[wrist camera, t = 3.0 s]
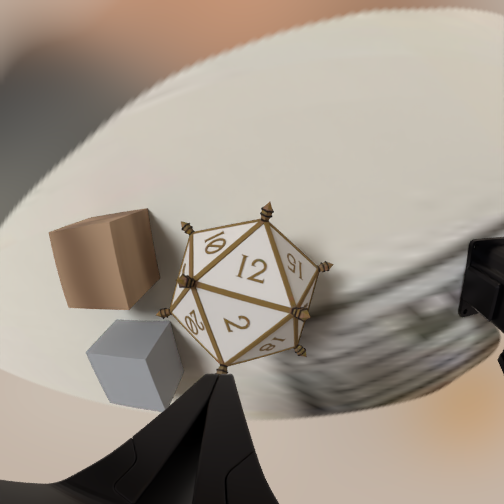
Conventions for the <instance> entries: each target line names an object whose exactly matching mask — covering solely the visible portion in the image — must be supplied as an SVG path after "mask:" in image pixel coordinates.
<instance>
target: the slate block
mask: <svg viewBox="0 0 504 504" xmlns="http://www.w3.org/2000/svg"><path fill="white" fill-rule="evenodd" d="M86 354H87V356H88V359H89V361H90V363H91V365H92V368H93V370H94V372H95V374H96V376H97V378H98V380H99V382H100V384H101V386H102V388H103V390H104V392H105V394H106V396H107V398H108V400H109V401H110V403H114V404H118V405H123V406H129V407H134V408H140V409H146V410H152V411H159V412H163V411H164V410H165V409H166V408H168V407H169V405H170V403H171V401H172V398H173V396H174V393H175V391H176V389H177V386H178V384H179V382H180V380H181V377H182V375H183V373H184V370H183V366H182V363H181V360H180V356H179V353H178V349H177V345H176V342H175V338H174V334H173V331H172V327H171V323H170V321H138V320H116V321H115V322H114V323H113V324H112V325H111V326H110V327H109V328H108V329H107V330H106V331H105V332H104V333H103V334H102V335H101V336H100V338H99V339H98V340H97V341H96V342H95V343H94V344H93V345H92V346H91V347H90V348H89V349H88V350H87V352H86Z"/></svg>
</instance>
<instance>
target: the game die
mask: <svg viewBox="0 0 504 504" xmlns="http://www.w3.org/2000/svg"><path fill="white" fill-rule="evenodd" d="M261 209H262V212H261V213H260V214H261V219H257V220H252V221H246V222H241V223H236V224H231V225H226V226H221V227H216V228H211V229H206V230H201V231H196V232H195V231H193V229H192V226H190V223H185V222H181V225H182V230H183V231H185V233H186V234H189V239H188V243H187V246H186V250H185V253H184V257H183V260H182V264H181V268H180V271H179V275H178V279H177V280H176V281H177V282H176V286H175V290H174V294H173V298H172V302H171V306H170V309H167V308H164V309H160V311H159V312H158V313H157V314H156V315H157V316H159V317H162V318H163V319H164V318H165V317H167V318H168V316H169V315H173V316H174V317H175V318H176V319H177V321H178V322H179V323H180V324H181V325H182V326H183V327H184V328H185V329H186V330H187V331H188V332H189V333H190V334H191V335H192V337H193V338H194V339H195V340H196V341H197V342H198V343H199V344H200V345H201V346H202V347H203V348H204V349H205V350H206V351H207V352H208V353H209V354H210V355H211V356H212V357H213V358H214V359H215V360H216V361H217V362H218V363H219V364H220V367H219V368H218V369H217V373H215V374H218V375H221V374H227V373H228V372H227V367H228V366H231V365H235V364H239V363H243V362H247V361H251V360H254V359H258V358H261V357H265V356H268V355H272V354H275V353H279V352H282V351H285V350H289V349H292V348H294V349H295V353H297V354H298V356H305V357H307V356H306V349H305V348H303V347H302V345H301V346H300V345H298V343H299V340H300V337H301V333H302V330H303V327H304V324H305V320H306V319H308V318H310V315H309V313H308V310H309V307H310V303H311V300H312V296H313V293H314V289H315V285H316V282H317V278H318V274H319V272H320V271H322V272H325V271H329V269H330V268H331V267H332V266H333V264H331V263H328V262H326V261H325V262H324V263H321V264H320V265H319V266H316V265H315V264H314V263H313V262H312V261H311V260H310V259H309V258H308V257H307V256H306V255H305V254H304V253H303V252H302V251H300V250H299V249H298V248H297V247H296V246H295V245H294V244H293V243H292V242H291V241H290V240H289V239H287V238H286V237H285V236H284V235H283V234H282V233H281V232H280V231H279V230H278V229H277V228H275V227H274V226H273V225H272V224H271V223H270V222H269V219H270V217H272V213H274V211H273V209H272V207H271V203H270V202H269V203H268V204H267V205H266V206H264V207H262V208H261Z"/></svg>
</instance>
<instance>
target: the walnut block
mask: <svg viewBox="0 0 504 504" xmlns="http://www.w3.org/2000/svg"><path fill="white" fill-rule="evenodd" d="M49 236H50V241H51V246H52V250H53V255H54V259H55V263H56V267H57V271H58V274H59V278H60V281H61V285H62V288H63V292H64V295H65V298H66V301H67V304H68V307H69V308H86V309H115V310H130V308H131V307H132V306H133V305H134V304H135V303H136V302H137V301H138V300H139V299H140V298H141V297H142V296H143V295H144V294H145V293H146V292H147V291H148V290H149V289H150V288H151V287H152V286H153V285H154V284H155V283H156V282H157V281H158V280H159V279H160V275H159V271H158V266H157V260H156V255H155V250H154V244H153V239H152V233H151V227H150V220H149V214H148V208H147V209H140V210H133V211H127V212H121V213H115V214H109V215H103V216H97V217H91V218H88V219H85V220H82V221H79V222H76V223H74V224H71V225H68V226H65V227H62V228H59V229H57V230H54V231H51V232H49Z"/></svg>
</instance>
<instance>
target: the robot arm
mask: <svg viewBox="0 0 504 504" xmlns="http://www.w3.org/2000/svg"><path fill="white" fill-rule="evenodd" d="M474 245H475V248H474ZM477 313H480V314H481V315H482V316H483V317H484V318H485V319H487V320H488V321H489V322H490V321H491V322H492V323H493V324H494V325H495V326H496V327H497V328H498V329H500V330H501V331H502V332H503V333H504V237H496V238H484V239H473V240H472V241H471V242H470V244H469V251H468V260H467V267H466V274H465V280H464V286H463V292H462V297H461V302H460V306H459V314H460V315H461V316H462V317H465V316H470V315H473V314H477ZM498 362H499V364H500V366H501V369H502V371H503V373H504V350H503V352H502V353H501V354H500V356H499V358H498ZM0 504H279V503H278V501H277V499H276V498H275V496H274V494H273V493H272V491H271V489H270V487H269V485H268V483H267V481H266V479H265V477H264V474H263V472H262V469H261V466H260V464H259V461H258V458H257V454H256V452H255V449H254V446H253V442H252V439H251V436H250V432H249V429H248V426H247V422H246V419H245V416H244V412H243V409H242V405H241V402H240V398H239V395H238V391H237V387H236V384H235V380H234V377H233V375H232V374H221V375H218V374H205V375H204V376H203V377H202V378H201V379H200V380H198V381H197V382H196V383H195V384H194V385H193V386H192V387H191V388H189V389H188V390H187V391H186V392H185V393H184V394H183V395H182V396H180V397H179V398H178V399H177V400H176V401H175V402H173V403H172V404H171V405H170V406H169V407H168V408H166V409H165V410H164V411H163V412H162V413H161V414H159V415H158V416H157V417H156V418H155V419H153V420H152V421H151V422H150V423H149V424H147V425H146V426H145V427H144V428H143V429H141V430H140V431H139V432H138V433H136V434H135V435H134V436H133V439H132V438H130V439H129V440H128V441H126V442H125V443H124V444H122V445H121V446H120V447H118V448H117V449H116V450H114V451H113V452H112V453H110V454H109V455H107V456H105V457H104V458H102V459H101V460H99V461H98V462H96V463H94V464H92V465H91V466H89V467H87V468H85V469H83V470H82V471H80V472H78V473H77V474H74V475H72V476H71V477H69V478H67V479H65V480H62V481H59V482H56V483H50V484H37V483H23V482H13V481H6V480H0Z"/></svg>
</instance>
